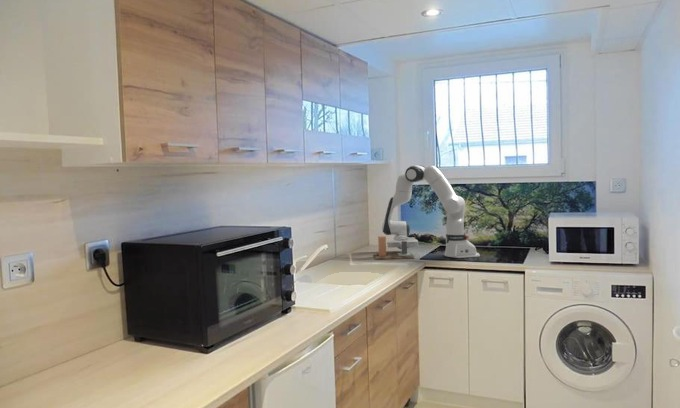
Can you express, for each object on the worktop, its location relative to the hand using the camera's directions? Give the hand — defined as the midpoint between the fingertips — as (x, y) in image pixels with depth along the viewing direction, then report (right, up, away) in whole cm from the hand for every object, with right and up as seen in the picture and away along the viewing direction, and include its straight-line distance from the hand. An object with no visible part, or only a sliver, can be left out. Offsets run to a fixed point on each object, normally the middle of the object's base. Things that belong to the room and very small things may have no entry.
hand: (404, 245), depth 327 cm
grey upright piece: (0, -6, -1) cm, 6 cm away
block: (-14, -7, +2) cm, 16 cm away
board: (-7, -8, 0) cm, 11 cm away
